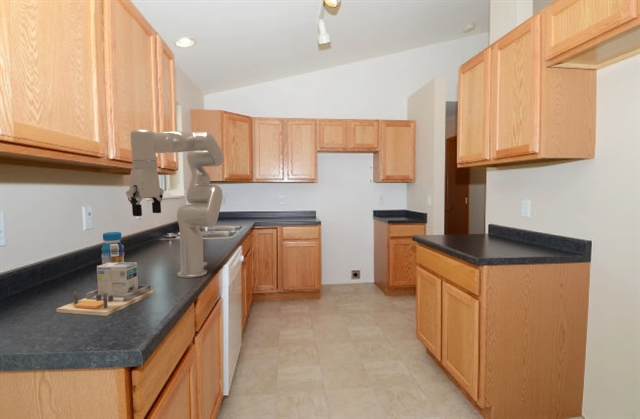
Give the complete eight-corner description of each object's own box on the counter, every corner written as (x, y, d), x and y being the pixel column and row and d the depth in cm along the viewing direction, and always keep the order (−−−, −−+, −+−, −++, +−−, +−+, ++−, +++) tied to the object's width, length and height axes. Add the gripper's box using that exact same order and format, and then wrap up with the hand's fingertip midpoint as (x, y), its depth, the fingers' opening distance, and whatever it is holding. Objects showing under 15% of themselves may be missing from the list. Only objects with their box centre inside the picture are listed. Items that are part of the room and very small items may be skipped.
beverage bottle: (97, 281, 139) (95, 234, 138) (109, 276, 147) (107, 231, 146) (118, 281, 139) (116, 234, 138) (129, 275, 148) (127, 231, 146)
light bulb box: (139, 291, 119) (138, 261, 119) (128, 297, 113) (126, 266, 112) (109, 291, 120) (108, 261, 119) (97, 297, 113) (95, 266, 112)
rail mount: (112, 291, 125) (111, 276, 125) (154, 293, 122) (154, 278, 121) (56, 312, 103) (55, 294, 103) (106, 316, 100) (105, 297, 100)
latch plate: (85, 303, 108) (85, 300, 108) (106, 304, 106) (106, 302, 106) (74, 307, 104) (74, 304, 104) (96, 308, 102) (96, 306, 102)
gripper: (152, 166, 125) (154, 211, 127) (115, 165, 108) (119, 217, 110) (169, 166, 123) (172, 212, 125) (135, 165, 107) (138, 217, 108)
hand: (147, 214), depth 117 cm, fingers open, 9 cm apart
